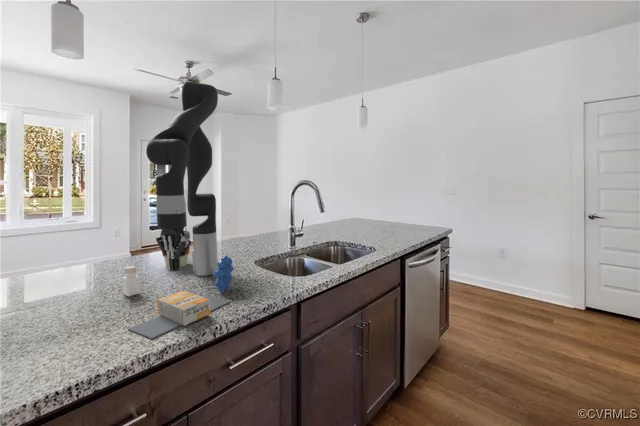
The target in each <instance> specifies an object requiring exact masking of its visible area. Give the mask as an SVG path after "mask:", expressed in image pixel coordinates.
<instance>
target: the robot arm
mask: <svg viewBox="0 0 640 426" xmlns="http://www.w3.org/2000/svg"><path fill="white" fill-rule="evenodd" d="M217 90H218V89H216V87H215V86H214V85H212V84H208V83H201V82H196V81H189V80H186V81H185V82H184V83H183V84H182V87H181V103H182V112H180V113H178V114H177V115H175V116H174V118H173V119H172V120H171V121H170V123H169V125H168V126H167V127H166V128H165V129H163V130H162V131H160V132H158V133H157V134H155V136H153V137H152V138H151V139H150V140H149V141H148V144H147V145H146V150H145V152H146V158H147V159H148V160H149V161H150V162H151V163H152V164H153V165H157V166H171V167H170V168H169V170H168V172H165V173H161V174H157V176H156V177H155V190H156V191H155V192H156V193H155V194H156V201H155V207H156V224H157V225H156V226H157V228H158V229H160V230H161V231H160V234H161V236H159V237H156V238H155V240H156V243H157V244H158V246H159V249H160V250H161V254H162V253H163V254H162V256H163V255H167V258H169V267H170V268H169V267H168V268H169V271H170V272H178V271H180V269H181V267H180V257H182V256H185V254H186V252H187V250H188V248H189V246H190V247H191V245H192V246H193V250H191V255H192V259H191V260H192V273H193V274H194V275H196V276H198V277H199V276H200V277H204V276H207V277H208V276H212V275H213V272H214V271H215V270H216V269H218V266H217V264H218V262H219V261H218V239H217V237H218V236H217V218H216V217H217V199H216V196H215V194H213V193H197V191H198V189H199V185H200V184H201V182H202V181H203V179H204V178H205V177H206V175H207V174H208V173H209V171H210V169H211V168H212V166H213V146H212V145H211V142H210V141H209V138H208V137H207V136H206V134H205V132H204V131H203V129H202V128H201V125H202V124H203V123H204V122H206V121H207V119H208V118H210V116H211V115H212V114H213V113H214V112H215V110H216V108H217V106H218V101H219V95H218V91H217ZM185 174H187V175H185ZM185 176H187V194H186V197H187V198H185V185H184V183H185V181H184V180H185ZM186 201H187V202H186ZM187 212H188V215H189V216H191V217H207V218H206V219H205V220H203V221H202V222H199V223H197V224H195V225H193V226H192V241H191V240H190V239H189V240H186V238H185V233H184V231H185V230H184V229H185V228H186V227H187V225H188V224H187V220H188V219H187ZM192 242H193V244H192ZM213 276H214V275H213Z"/></svg>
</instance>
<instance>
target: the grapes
mask: <svg viewBox="0 0 640 426" xmlns="http://www.w3.org/2000/svg"><path fill="white" fill-rule="evenodd" d="M232 264H233V260H232V258H231V257H229V256H228V255H224V256H223V257H222V258H221V259H220V260H219V261H218V264H217V266H218V269H216V270H215V271H214V272H213V277H214V278H216V280H214V281H215V282H214V285H215V286H216V288H217V290H218V292H220V293H223V292H224V291H226V290H228V288H229V287H230V285H231V284H230V282H232V279H233V275H232V272H233V271H234V270H235V267H234V266H233V265H232Z"/></svg>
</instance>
